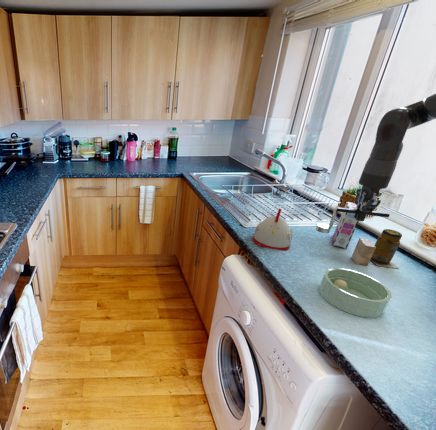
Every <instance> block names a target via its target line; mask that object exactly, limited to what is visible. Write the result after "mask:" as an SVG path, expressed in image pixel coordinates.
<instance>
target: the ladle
mask: <svg viewBox="0 0 436 430" xmlns="http://www.w3.org/2000/svg"><path fill="white" fill-rule="evenodd" d="M342 212H346V213H354V214H358V212H359V210H358V209H349V208H344V207H340V206H336V207H335V208H334V209H333V211H332V215H331V218H330V220H329V224H327V223H323V222H322V223H319V222H318V223H316V226H315V231H316V232H318V233H322V234H329V233H331V229H332V228H333V226H334V223H335V220H336V217H337V214H338V213H342ZM366 216H371V217H381V218H390V216H391V213H389V212H384V211H375V210H373V211H372V212H367V215H366Z"/></svg>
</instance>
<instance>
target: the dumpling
mask: <svg viewBox="0 0 436 430" xmlns="http://www.w3.org/2000/svg"><path fill="white" fill-rule="evenodd" d="M333 284H334V285H336V286H337V287H339V288H340V289H342V290H344V291H345V290H346V289H347V283H346V282H345V281H343V280H335V281H334V282H333Z"/></svg>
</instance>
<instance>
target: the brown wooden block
mask: <svg viewBox="0 0 436 430" xmlns="http://www.w3.org/2000/svg"><path fill="white" fill-rule="evenodd" d="M374 245H375V244H374V243H373V242H372V241H371V240H370V239H368V238H361V237H360V238H359V239H358V241H357V243H356V245H355V247H354V249H353V252H352V255H351V259H352V261H353V262H354V263H355V265H358V266H363V267H368V266H369V263H370V262H371V260H370V259H371V257H372V255H373V253H374V251H375V249H376V247H375V246H374Z"/></svg>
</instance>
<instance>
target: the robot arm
mask: <svg viewBox="0 0 436 430" xmlns="http://www.w3.org/2000/svg"><path fill="white" fill-rule="evenodd" d="M434 120H436V93H433V94H431V95H429V96H426V98H424V99H422V100H419V101H417V102H414V103H411V104H408V105H406V106H402V107H397V108H392V109H390V110H388V111H387V112H385V113H384V114H383V115H382V116H381V118H380V120H379V123H378V125H377V129H376V134H375V139H374V140H375V141H374V144H373V146H372V149H371V151H370V153H369V157H368V159H367V160H366V162H365V165H364V166H363V169H362V172H361V175H360V177H359V179H358V185H360V186H361V188H357V189H356V194H355V201H354V203H355V204H356V205H357V206H356V207H357V209H358V210H359V212H358V214H355V215H354V218H355V219H356V220H357V221H359V222H364V221H365V219H366V218H367V216H368V215H367V212H372V211H375V210H376V208H377V207H379V205H380V204H381V202H382V201H381V199H379V197H380V191H381V190H385V189H387V188H388V187H389V185H390V182H391V179H392V177H393V175H394V172H395V170H396V168H397V165H398V164H397V163H398V160H399V159H400V156H401V154H402V151H403V149H404V143H403V141H404V138H405V137H406V136H405V135H406V133H407V130H410V129H412V128H415V127H418V126H421V125H423V124H426V123H429V122H431V121H434Z"/></svg>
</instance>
